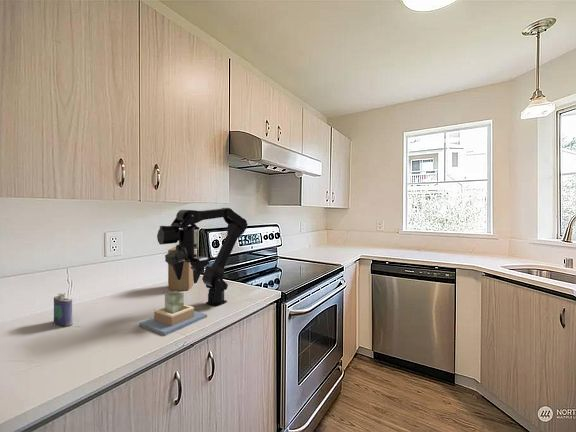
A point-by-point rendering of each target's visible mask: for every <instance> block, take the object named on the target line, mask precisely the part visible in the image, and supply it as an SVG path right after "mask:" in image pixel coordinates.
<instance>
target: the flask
mask: <svg viewBox="0 0 576 432" xmlns="http://www.w3.org/2000/svg"><path fill="white" fill-rule="evenodd" d="M65 296H66V293H58V294H57V295H56V296H54V297H53V324H55V325H56V326H60V327H63V328H64V327H65V328H67V327H71V326H73V324H74V323H73V299H72V298H67V297H65Z"/></svg>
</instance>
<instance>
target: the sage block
mask: <svg viewBox="0 0 576 432" xmlns="http://www.w3.org/2000/svg"><path fill="white" fill-rule="evenodd" d="M184 296H185V293H184V292H181V291H178V290H173V291H172V292H169V293H168V292H167V293H165V294H164V307H165V311H167V312H170V313H176V312H179V311H181V310H184V304H185V302H184V301H185V300H184V299H185V297H184Z"/></svg>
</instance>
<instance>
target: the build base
mask: <svg viewBox="0 0 576 432" xmlns="http://www.w3.org/2000/svg"><path fill="white" fill-rule="evenodd" d="M153 313H154V315H153V317H151V318H149V319H146V320H143V321H141V322H139V323H138V326H139V327H141V328H143V329H147V330H149V331H152V332H155V333H158V334H160V335H163V336H168V335H169V334H172V333H174V332H176V331H179V330H181V329H183V328H185V327H187V326H191V325H192V324H195V323H197V322H199V321H201V320H203V319H206V318H208V314H207V313H205V312H204V313H203V312H200V311H198V310H195V307H194V306H191V305H187V304H185V303H184V310H181V311H179V312H176V313H170V312H167V311H165V306H163V307H159V308H156V309H154V311H153Z"/></svg>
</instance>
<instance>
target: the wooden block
mask: <svg viewBox="0 0 576 432" xmlns="http://www.w3.org/2000/svg"><path fill="white" fill-rule="evenodd" d="M174 250H176V246H173V247H172V248H170V249H168V251H167V254H168V253H170V252H171V251H174ZM190 267H192V266H191V264H190V263H189V262H184V265H183V270H182V276H181V279H180V280H178V279H177V276H176V274H175V271H174V269H173V267H172V266H171V265H169V264H168V263H167V271H168V272H167V275H168V277H167V278H168V279H167V281H168V283H167V286H168V288H167V289H168V290H167V291H190V289H192V287H193V286H194V284H195V283H194V280H193V270H192V269H191V268H190Z"/></svg>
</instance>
